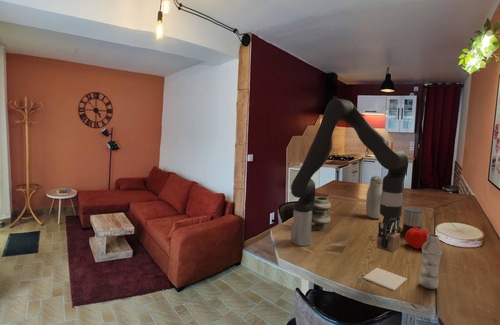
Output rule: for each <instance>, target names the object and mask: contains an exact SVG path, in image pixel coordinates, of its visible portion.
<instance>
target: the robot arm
mask: <svg viewBox="0 0 500 325" xmlns="http://www.w3.org/2000/svg"><path fill="white" fill-rule="evenodd" d="M322 115H323V116H322V119H321V121H320V124H319V127H318V130H317V131H316V133H315V134H316V135H315V136H314V138H313V140H312V142H311V145H310V147H309V149H308V151H307V154H306V156H305V158H304V161H303V163H302V165H301V167H300V168H299V171H298V172H297V174H296V175H295V177H294V178H293V181H292V183H291V186H290V191H291V194H292V196H293V197H295V198H299V199H298V200H297V201H295V203H293V218H292V223H291V226H290V228H291V229H290V230H291V231H290V242H292V244H294V245H295V246H299V247H308V246H310V245H311V244H312V240H311V239H312V228H311V226H312V225H313V224H312V223H313V222H312V208H313V205H314V201H315V197H316V183H315V181H314V179H312V177H313V176H314V174H315V173H317V172H318V171H319V170H320V169H321V168H322V167H323V165H324V164H325V163H326V161H327V160H328V158H329V156H330V154H331V152H332V149H333V133H334V131H335V129H336V127H337V125H338V123H339V122H345V123H346V124H348V125H350V126H351V127H352V128H353V130H354V131H355V133H356V135H357V137H358V139H359V141H361V143H362V144H363V145H364V146H365V147H366V148H367V149H368V150H369V151H370V152H372V154H373V155H374V158H375V159H376V161H378V163H379V164H380V165H381V166H382V168H384V169H386V170H388V171H387V174H386V175H385V176H383V177H382V179H383V184H382V193H381V200H380V214H381V217H383V219H382V220H381V222H380V221H379V222H378V233H379V237H381V247H382V248H385V249H386V248H387V247H388V237H389V234H390V233H391V231H392V232H396V233H399V232H398V230H399V227H400V222H401V217H402V210H403V199H404V198H403V190H404V179H405V177H406V174H407V171H408V168H409V157H408V155H407V153H406V152H405V151H403V150H398V149H397V150H393V149H392V148H391V147H390V146H389V141H388V140H387V139H386V138H385V137H384V135H382V134H381V133H380V132H379V131H378V130H376V129H375V127H373V126H372V125H371V124H370V123H369V122H368V121H367V120H366V118H365V117H364V116H363V115H362V114H361V113H360V111H359V110H358V109H357V107H356V106H355V104H353V102H352V101H350V100H348V99H345V98H343V99H341V98H333V99H331V100H330V101H329V102H328V103H327V105H326V108H325V110H324V113H323V114H322ZM387 230H388V231H387ZM399 231H400V230H399ZM386 233H387V235H386Z"/></svg>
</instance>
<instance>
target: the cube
mask: <svg viewBox="0 0 500 325" xmlns="http://www.w3.org/2000/svg"><path fill="white" fill-rule="evenodd" d="M387 231H388V230H387ZM386 235H387V233H386ZM400 240H401V233H399V232H392V231H391V233H390V234H389V237H388V247H387V248H386V249H385V248H382V247H381V237H379V232H377V238H376V249H379V250H382V251H384V252H389V253H391V254H393V253H394V252H396V251H398V250H399V249H400Z"/></svg>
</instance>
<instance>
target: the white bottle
mask: <svg viewBox="0 0 500 325" xmlns="http://www.w3.org/2000/svg"><path fill="white" fill-rule="evenodd" d="M382 184H383V177H381V176H379V175H374V176H371V178H370V181H369V186H368V188H367V192H366V198H365V201H366V202H365V213H366V215H367V216H368V218H370V219H376V220H378V219H379V218H381V217H382V215H381V214H380V200H381V193H382Z"/></svg>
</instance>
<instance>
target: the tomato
mask: <svg viewBox="0 0 500 325" xmlns="http://www.w3.org/2000/svg"><path fill="white" fill-rule="evenodd" d="M428 234H430V233H429V231H428V230H426V229H421V228H420V229H419V228H417V227H414V228H413V229H409V230H408V231H407V233H406V235H404V238H405V242H406V244H408V245H409V246H410V247H411V248H414V249H416V250H418V249H421V250H422V246H423V244H424V243H425V242H426V241H427V235H428Z"/></svg>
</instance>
